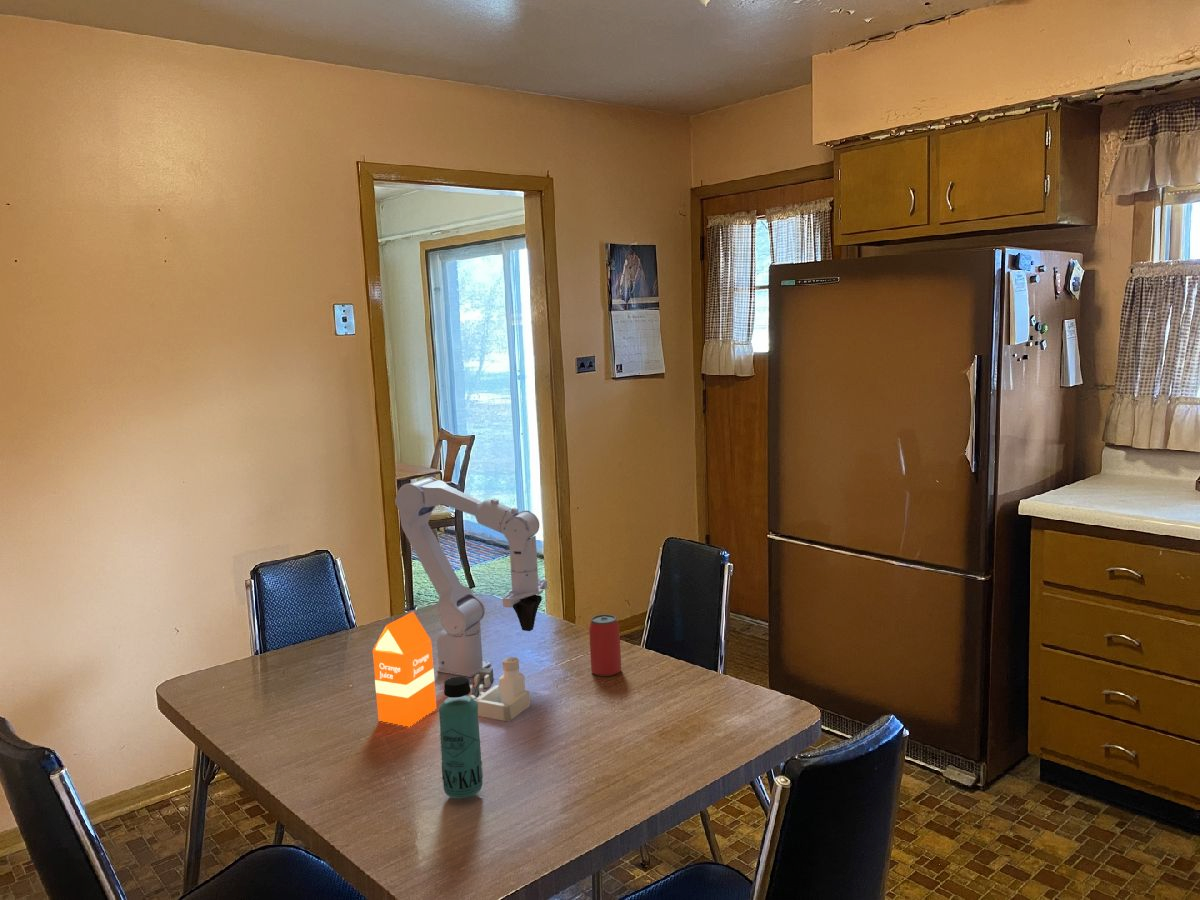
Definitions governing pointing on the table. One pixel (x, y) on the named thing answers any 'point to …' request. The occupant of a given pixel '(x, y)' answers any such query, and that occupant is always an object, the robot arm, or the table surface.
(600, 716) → the table surface
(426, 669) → the orange juice
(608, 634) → the beer can
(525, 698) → the end holder
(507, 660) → the pepper shaker
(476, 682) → the clips
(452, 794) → the beverage bottle
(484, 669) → the cable route
